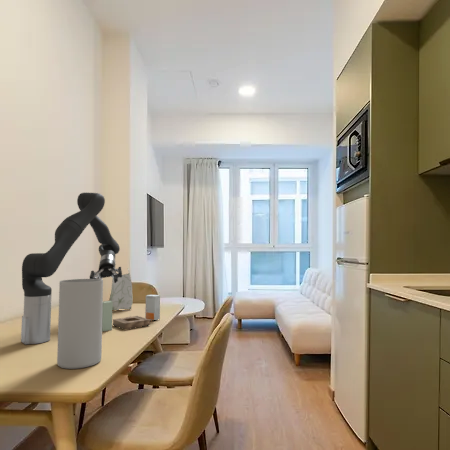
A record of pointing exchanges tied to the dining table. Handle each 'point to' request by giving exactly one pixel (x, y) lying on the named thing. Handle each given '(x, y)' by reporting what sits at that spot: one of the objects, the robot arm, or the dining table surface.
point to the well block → (131, 322)
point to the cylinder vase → (80, 323)
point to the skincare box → (152, 307)
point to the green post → (107, 315)
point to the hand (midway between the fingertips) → (105, 282)
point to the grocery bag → (121, 292)
